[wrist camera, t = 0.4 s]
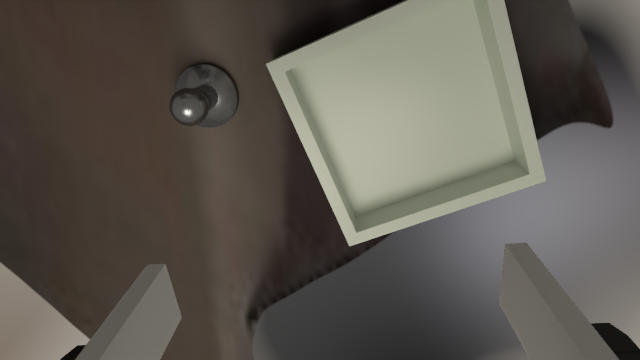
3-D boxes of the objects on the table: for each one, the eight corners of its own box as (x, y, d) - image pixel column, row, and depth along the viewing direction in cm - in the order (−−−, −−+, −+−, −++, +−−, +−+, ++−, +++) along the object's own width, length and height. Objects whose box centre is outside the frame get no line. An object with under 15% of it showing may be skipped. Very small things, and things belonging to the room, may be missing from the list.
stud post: (166, 78, 38) (131, 91, 32) (220, 53, 37) (195, 61, 31) (197, 134, 40) (170, 156, 34) (249, 111, 39) (231, 130, 33)
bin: (273, 59, 37) (265, 64, 33) (478, -33, 33) (495, -39, 30) (348, 226, 43) (349, 246, 40) (527, 165, 40) (546, 180, 36)
